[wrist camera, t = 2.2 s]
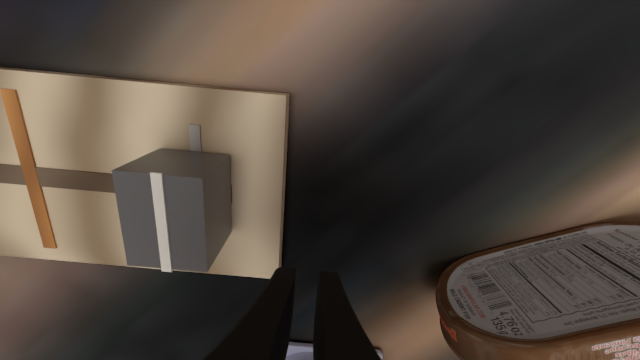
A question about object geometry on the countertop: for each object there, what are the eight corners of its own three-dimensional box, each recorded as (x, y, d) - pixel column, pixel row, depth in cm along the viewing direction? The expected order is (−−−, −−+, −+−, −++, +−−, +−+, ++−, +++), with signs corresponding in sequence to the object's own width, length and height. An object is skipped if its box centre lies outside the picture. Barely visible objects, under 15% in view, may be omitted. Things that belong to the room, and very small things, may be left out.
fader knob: (230, 153, 17) (201, 177, 13) (231, 232, 18) (206, 275, 15) (159, 146, 17) (109, 168, 13) (168, 227, 18) (126, 268, 15)
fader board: (289, 93, 17) (286, 95, 16) (281, 265, 21) (277, 280, 20) (-92, 58, 17) (-133, 57, 15) (-26, 238, 21) (-53, 251, 20)
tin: (424, 293, 22) (478, 418, 14) (415, 259, 21) (468, 372, 13) (644, 240, 20) (850, 349, 12) (645, 199, 19) (872, 290, 11)
